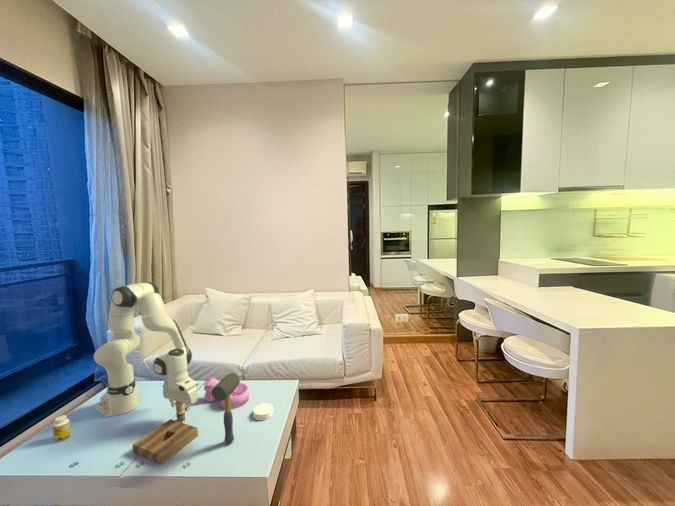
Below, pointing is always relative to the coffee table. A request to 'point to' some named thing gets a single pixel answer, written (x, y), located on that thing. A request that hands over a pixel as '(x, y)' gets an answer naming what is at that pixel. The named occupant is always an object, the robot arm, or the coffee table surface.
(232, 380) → the rubber mallet
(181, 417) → the maple dowel
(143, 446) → the walnut board
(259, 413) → the cream round disc
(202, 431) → the coffee table surface
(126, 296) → the robot arm
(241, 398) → the container set
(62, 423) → the supplement bottle
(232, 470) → the coffee table surface
